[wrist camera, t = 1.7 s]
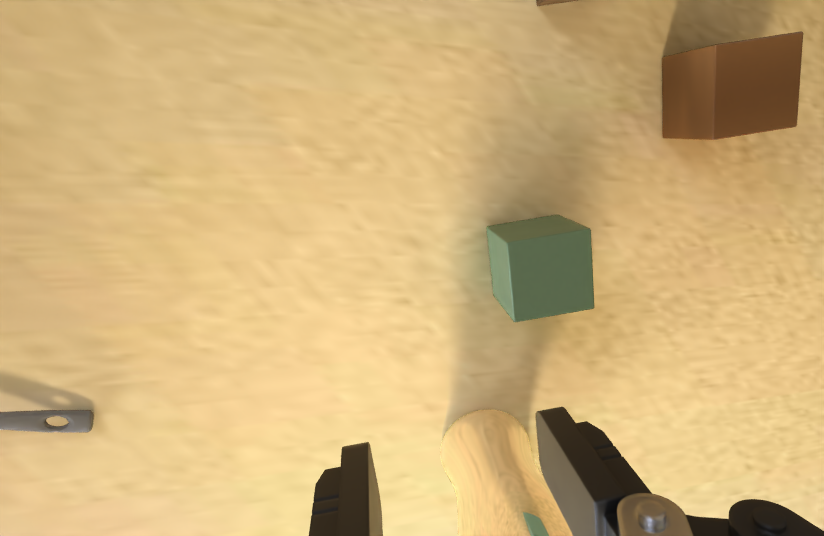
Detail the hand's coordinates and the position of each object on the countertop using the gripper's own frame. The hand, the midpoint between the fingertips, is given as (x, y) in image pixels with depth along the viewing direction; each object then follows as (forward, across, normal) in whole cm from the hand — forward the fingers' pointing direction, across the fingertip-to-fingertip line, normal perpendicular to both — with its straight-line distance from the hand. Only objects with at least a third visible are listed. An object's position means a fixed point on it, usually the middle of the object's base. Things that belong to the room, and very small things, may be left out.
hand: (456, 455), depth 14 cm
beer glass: (+18, -4, +13) cm, 22 cm away
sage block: (+17, -8, 0) cm, 19 cm away
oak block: (+17, -18, -8) cm, 27 cm away
